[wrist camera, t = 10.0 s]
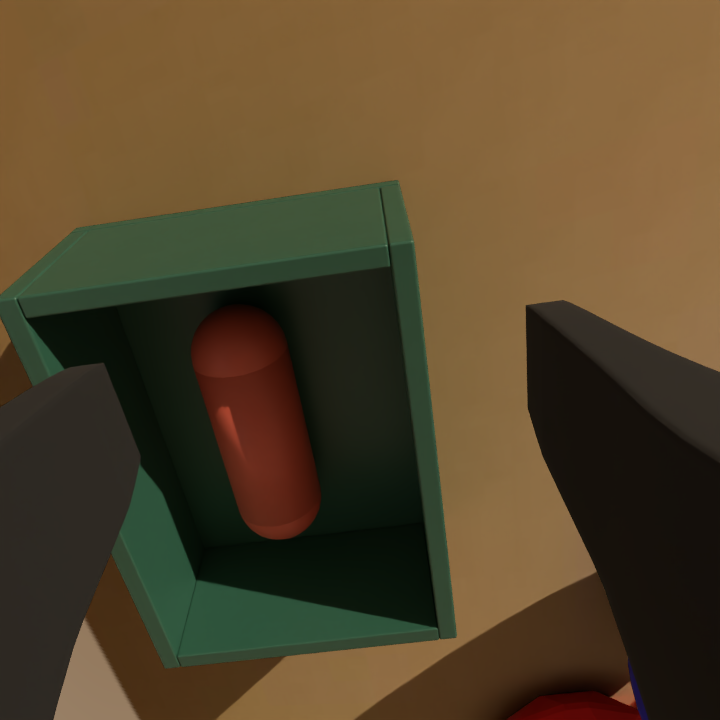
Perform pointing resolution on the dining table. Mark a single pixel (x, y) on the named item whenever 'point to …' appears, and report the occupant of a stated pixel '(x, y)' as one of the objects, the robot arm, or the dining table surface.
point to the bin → (319, 403)
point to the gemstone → (576, 708)
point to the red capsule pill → (257, 419)
